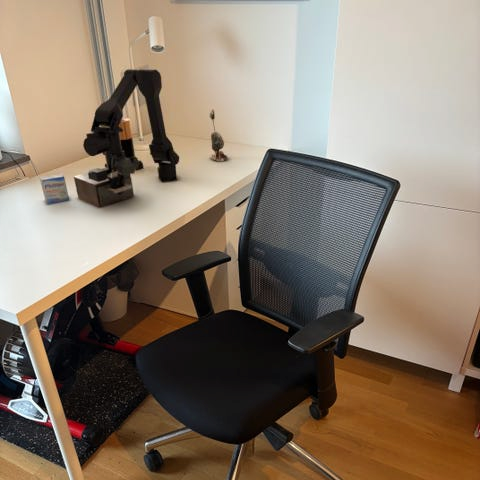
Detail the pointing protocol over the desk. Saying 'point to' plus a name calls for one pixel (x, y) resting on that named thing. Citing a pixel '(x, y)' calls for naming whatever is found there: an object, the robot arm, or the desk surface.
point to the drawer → (114, 192)
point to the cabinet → (90, 189)
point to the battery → (126, 138)
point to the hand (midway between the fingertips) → (120, 194)
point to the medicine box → (54, 188)
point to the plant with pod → (217, 143)
